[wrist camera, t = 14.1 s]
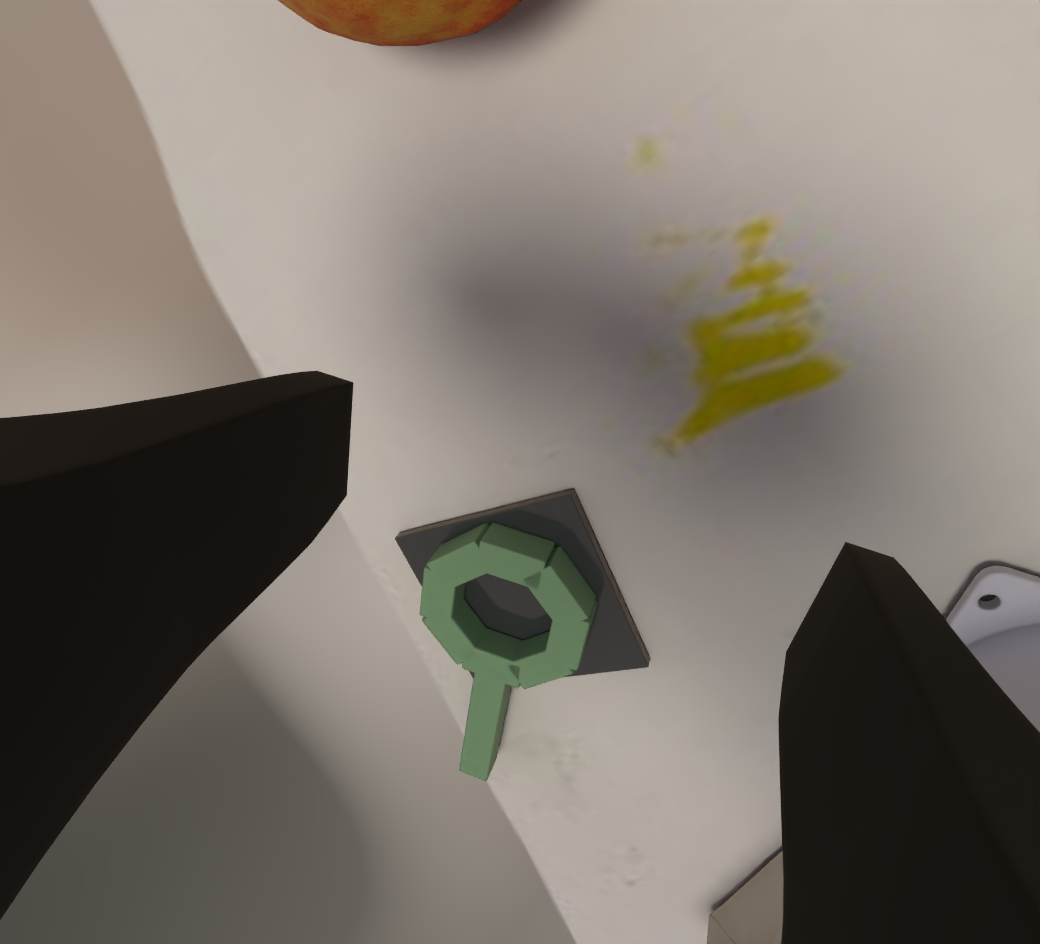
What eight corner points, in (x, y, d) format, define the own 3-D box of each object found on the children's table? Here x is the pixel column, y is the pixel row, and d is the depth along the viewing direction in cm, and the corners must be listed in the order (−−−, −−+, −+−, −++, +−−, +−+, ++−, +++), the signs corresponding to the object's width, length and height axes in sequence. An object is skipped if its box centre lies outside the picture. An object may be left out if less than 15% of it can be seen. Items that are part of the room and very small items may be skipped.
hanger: (442, 505, 24) (427, 524, 23) (609, 558, 23) (601, 580, 22) (418, 728, 30) (405, 750, 29) (550, 778, 28) (541, 803, 28)
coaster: (650, 659, 24) (648, 667, 24) (481, 680, 28) (478, 687, 27) (573, 488, 22) (570, 494, 22) (399, 532, 25) (394, 538, 25)
